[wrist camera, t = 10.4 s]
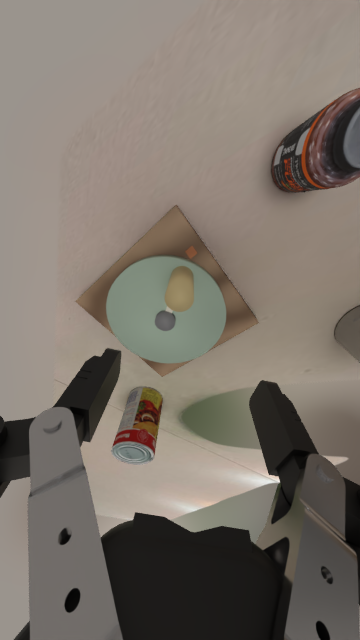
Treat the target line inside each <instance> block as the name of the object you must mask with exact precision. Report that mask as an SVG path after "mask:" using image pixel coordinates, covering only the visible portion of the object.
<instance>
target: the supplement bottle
mask: <svg viewBox="0 0 360 640" xmlns="http://www.w3.org/2000/svg"><path fill="white" fill-rule="evenodd" d="M272 175H273V179H274V181H275V183H276V185H277V186H278V187H279V188H280V189H282V190H284V191H286V192H305V191H312V190H319V189H329V188H335V187H340V186H343V185H346V184H348V183H351V182H352V181H354V180H356V179H357V178H359V177H360V88H358V89H355V90H352V91H350V92H347V93H346V94H344V95H342V96H341V97H339V98H338V99H336V100H335V101H333V102H332V103H330V104H329V105H327V106H326V107H325V108H323V109H322V110H321V111H319V112H318V113H316V114H315V115H314V116H312V117H311V118H309V119H308V120H307V121H305V122H304V123H302V124H301V125H300V126H298V127H297V128H295V129H294V130H293V131H292V132H290V133H289V134H288V135H287V136H286V137H285V138H284V139H283V140H282V142H281V143H280V145H279V146H278V148H277V150H276V153H275V155H274V159H273V163H272Z"/></svg>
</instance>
